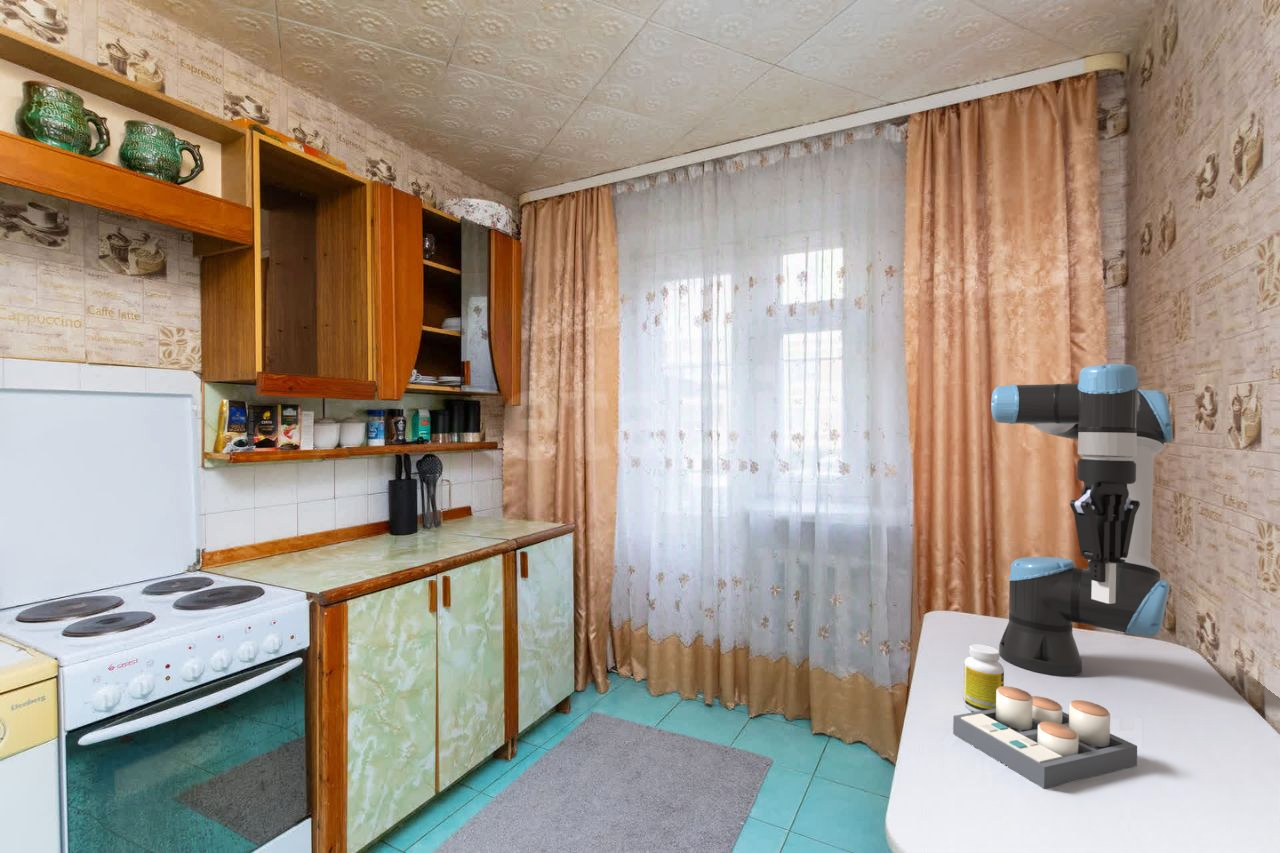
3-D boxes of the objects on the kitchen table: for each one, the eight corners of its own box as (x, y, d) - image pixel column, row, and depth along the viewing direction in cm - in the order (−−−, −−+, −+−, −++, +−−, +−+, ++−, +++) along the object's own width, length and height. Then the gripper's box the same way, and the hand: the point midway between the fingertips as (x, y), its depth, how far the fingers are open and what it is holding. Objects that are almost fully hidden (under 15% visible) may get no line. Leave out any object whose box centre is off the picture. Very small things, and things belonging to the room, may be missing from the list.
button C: (1010, 712, 96) (1010, 684, 96) (1039, 727, 91) (1040, 697, 91) (988, 716, 94) (989, 687, 94) (1017, 731, 89) (1018, 701, 89)
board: (1038, 717, 100) (1039, 698, 100) (1136, 765, 86) (1137, 743, 86) (953, 733, 93) (953, 713, 93) (1044, 788, 79) (1044, 764, 79)
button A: (1039, 721, 98) (1039, 693, 98) (1069, 736, 93) (1070, 707, 93) (1018, 725, 96) (1019, 697, 96) (1048, 741, 91) (1048, 711, 92)
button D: (1051, 749, 89) (1052, 719, 89) (1086, 767, 84) (1086, 735, 84) (1029, 754, 87) (1030, 723, 87) (1062, 773, 83) (1063, 740, 83)
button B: (1082, 727, 91) (1083, 697, 91) (1117, 743, 86) (1118, 712, 87) (1061, 732, 90) (1061, 701, 90) (1095, 748, 85) (1096, 716, 85)
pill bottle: (1009, 720, 99) (1010, 657, 99) (970, 715, 100) (972, 653, 100) (994, 703, 105) (996, 644, 105) (958, 699, 106) (959, 640, 106)
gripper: (1109, 457, 99) (1106, 592, 98) (1054, 457, 95) (1051, 596, 95) (1159, 460, 91) (1156, 605, 91) (1102, 459, 88) (1099, 611, 87)
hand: (1103, 600), depth 93 cm, fingers closed
